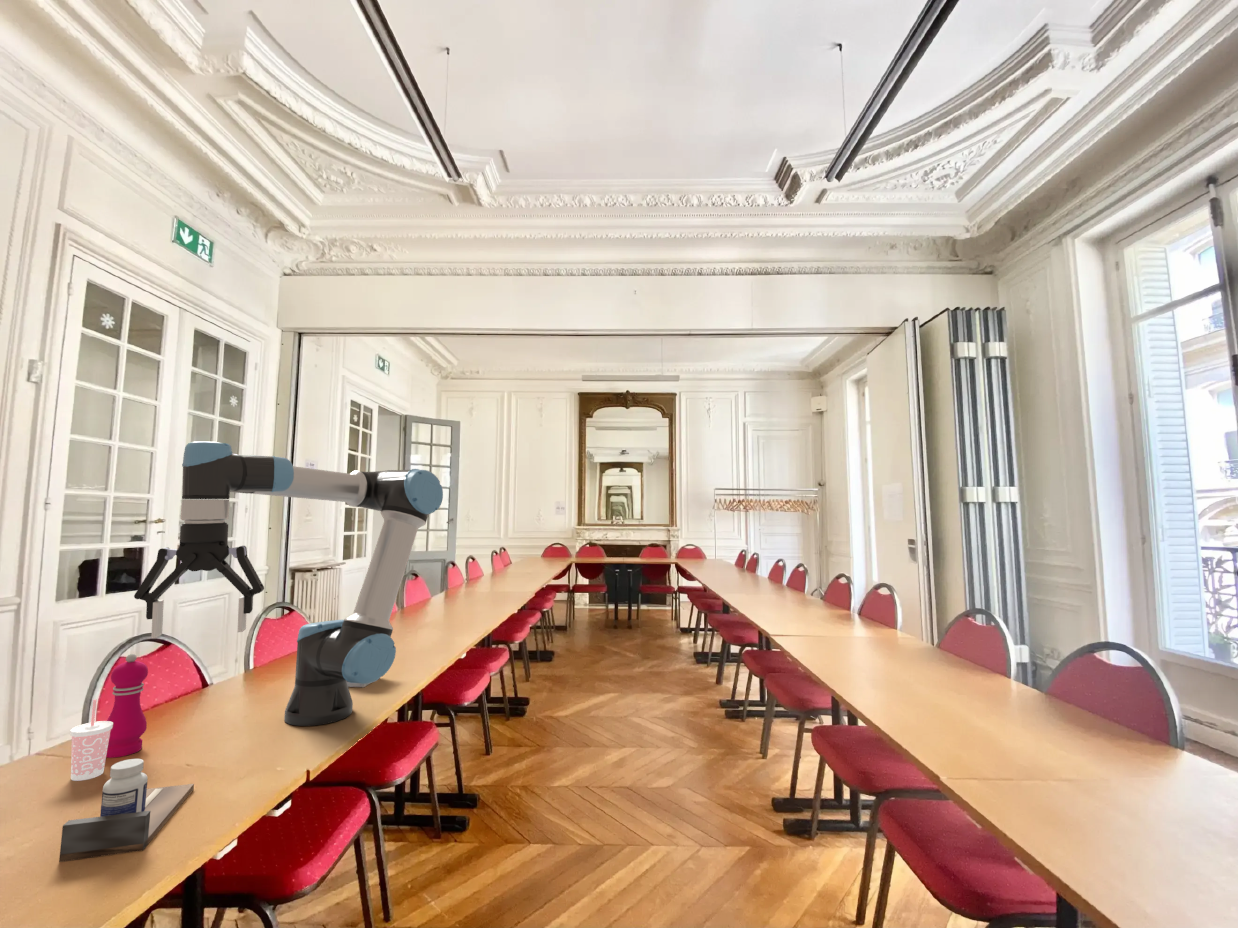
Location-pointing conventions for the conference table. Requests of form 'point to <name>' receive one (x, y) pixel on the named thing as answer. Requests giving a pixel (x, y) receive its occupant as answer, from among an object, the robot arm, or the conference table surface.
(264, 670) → the conference table surface
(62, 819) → the conference table surface
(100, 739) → the beverage cup
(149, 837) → the board
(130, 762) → the pill bottle
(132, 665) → the pepper mill
